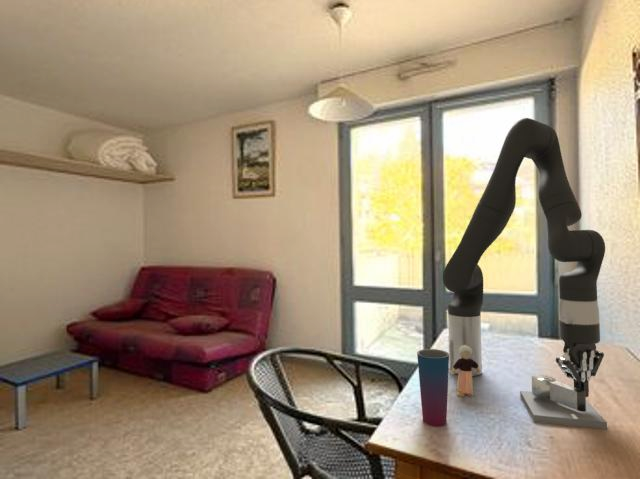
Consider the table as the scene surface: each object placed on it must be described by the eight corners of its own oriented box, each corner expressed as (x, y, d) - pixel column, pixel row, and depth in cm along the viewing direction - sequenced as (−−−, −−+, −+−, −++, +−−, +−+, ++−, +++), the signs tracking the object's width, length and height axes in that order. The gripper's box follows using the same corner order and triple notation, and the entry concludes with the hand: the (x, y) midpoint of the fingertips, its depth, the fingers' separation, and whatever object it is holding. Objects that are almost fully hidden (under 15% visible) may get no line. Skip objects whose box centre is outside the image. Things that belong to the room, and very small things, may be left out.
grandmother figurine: (458, 399, 96) (457, 348, 96) (449, 393, 100) (448, 344, 100) (484, 395, 98) (483, 345, 98) (474, 389, 102) (473, 341, 102)
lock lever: (527, 393, 92) (526, 376, 92) (541, 389, 94) (541, 373, 94) (577, 413, 81) (577, 394, 81) (592, 409, 83) (592, 390, 83)
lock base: (533, 421, 83) (533, 414, 83) (520, 396, 96) (520, 390, 96) (608, 429, 79) (608, 421, 79) (583, 402, 92) (583, 395, 92)
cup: (426, 411, 89) (424, 347, 89) (455, 419, 85) (453, 352, 85) (413, 422, 84) (411, 354, 84) (443, 431, 80) (441, 360, 80)
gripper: (582, 313, 92) (584, 385, 92) (542, 319, 87) (545, 395, 87) (616, 319, 85) (618, 397, 85) (574, 326, 80) (577, 409, 80)
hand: (581, 396), depth 86 cm, fingers closed
